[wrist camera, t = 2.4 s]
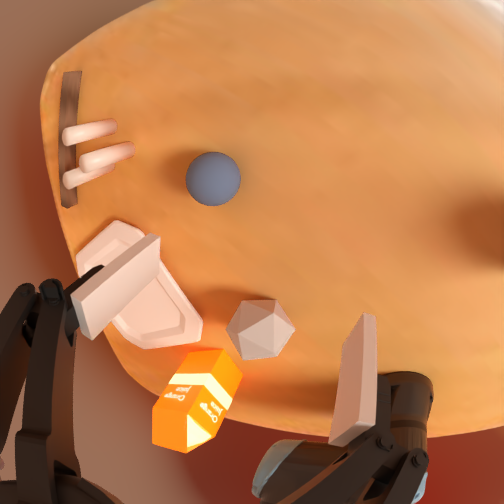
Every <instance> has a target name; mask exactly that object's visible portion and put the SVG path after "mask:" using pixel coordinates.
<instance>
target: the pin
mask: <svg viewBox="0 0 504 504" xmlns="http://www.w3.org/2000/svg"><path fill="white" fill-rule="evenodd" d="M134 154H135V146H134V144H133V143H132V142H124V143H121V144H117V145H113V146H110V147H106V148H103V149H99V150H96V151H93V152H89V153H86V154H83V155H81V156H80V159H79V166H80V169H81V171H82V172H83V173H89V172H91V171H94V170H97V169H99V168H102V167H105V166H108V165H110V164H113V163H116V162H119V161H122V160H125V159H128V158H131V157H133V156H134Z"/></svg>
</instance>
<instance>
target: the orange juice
mask: <svg viewBox="0 0 504 504" xmlns="http://www.w3.org/2000/svg"><path fill="white" fill-rule="evenodd" d="M242 377H243V374H242V373H241V372H240V370H239V369H238V368H237V366H236V365H235V364H234V362H233V361H232V360H231V358H230V357H229V356H228V354H227V353H226V352H225V350H224V349H218V350H208V351H197V352H189V353H188V355H187V356H186V358H185V360H184V361H183V363H182V364H181V366H180V367H179V369H178V370H177V372H176V373H175V374H174V376H173V377H172V379H171V380H170V382H169V383H168V386H167V387H166V389H165V390H164V392H163V393H162V395H161V396H160V398H159V399H158V401H157V402H156V404H155V406H154V407H153V423H152V425H153V426H152V429H153V430H152V443H153V444H156V445H159V446H162V447H166V448H169V449H173V450H177V451H180V452H184V453H187V452H189V451H191V450H192V449H194V448H196V447H198V446H199V445H201V444H203V443H204V442H206V441H208V440H210V439H211V438H213V437H215V435H216V433H217V431H218V429H219V427H220V425H221V422H222V420H223V418H224V416H225V414H226V412H227V410H228V408H229V406H230V404H231V402H232V399H233V397H234V394H235V392H236V390H237V388H238V385H239V383H240V381H241V379H242Z"/></svg>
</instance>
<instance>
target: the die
mask: <svg viewBox="0 0 504 504" xmlns="http://www.w3.org/2000/svg"><path fill="white" fill-rule="evenodd" d="M295 330H296V329H295V328H294V326H293V324H292V323H291V321H290V320H289V318H288V317H287V315H286V314H285V312H284V311H283V309H282V308H281V306H280V304H279V303H278V301H277V300H242V301H241V303H240V305H239V307H238V309H237V310H236V312H235V314H234V316H233V317H232V319H231V321H230V323H229V324H228V326H227V328H226V331H227V333H228V335H229V336H230V338H231V340H232V342H233V344H234V345H235V347H236V349H237V351H238V352H239V354H240V356H241V358H242V359H243V360H252V359H261V358H270V357H277V356H278V354H279V353H280V351H281V350H282V349H283V347H284V346H285V344H286V343H287V341H288V340H289V338H290V337H291V335H292V334H293V333H294V331H295Z"/></svg>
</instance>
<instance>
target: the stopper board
mask: <svg viewBox="0 0 504 504" xmlns="http://www.w3.org/2000/svg"><path fill="white" fill-rule="evenodd" d="M81 73H82V71H71V72H64V73H63V81H62V90H61V100H60V115H59V179H60V193H61V205H62V206H63V207H65V208H70V207H71V206H73V205H75V204H77V190H76V187H74V188H72V189H67V188H66V187H65V186H64V184H63V174H64V173H65V172H68V171H70V170H73V169H76V144H73V145H70V146H65V145H64V143H63V141H62V133H63V130H64V129H65V128H68V127H73V126H76V123H77V109H78V98H79V88H80V80H81Z"/></svg>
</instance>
